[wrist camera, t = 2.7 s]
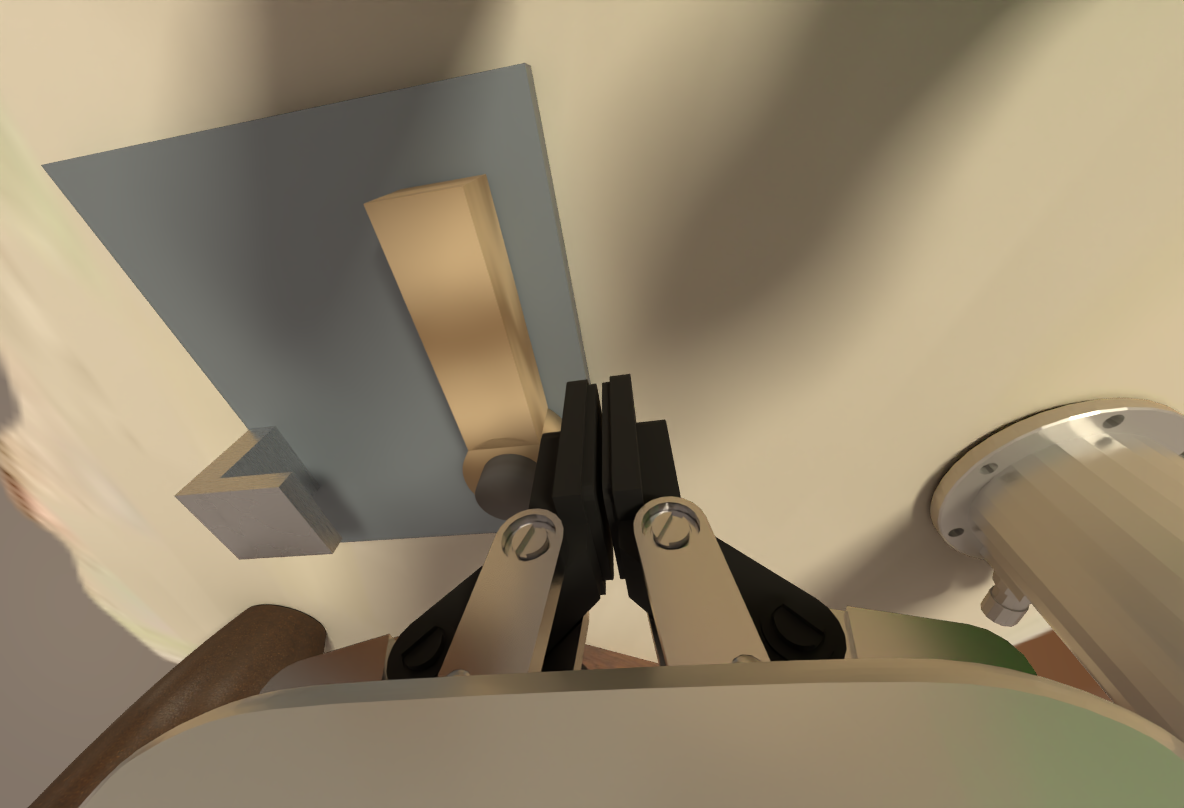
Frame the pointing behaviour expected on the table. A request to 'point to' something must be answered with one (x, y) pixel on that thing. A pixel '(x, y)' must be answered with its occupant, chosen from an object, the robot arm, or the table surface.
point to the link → (470, 330)
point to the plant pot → (194, 692)
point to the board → (338, 279)
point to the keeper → (261, 500)
